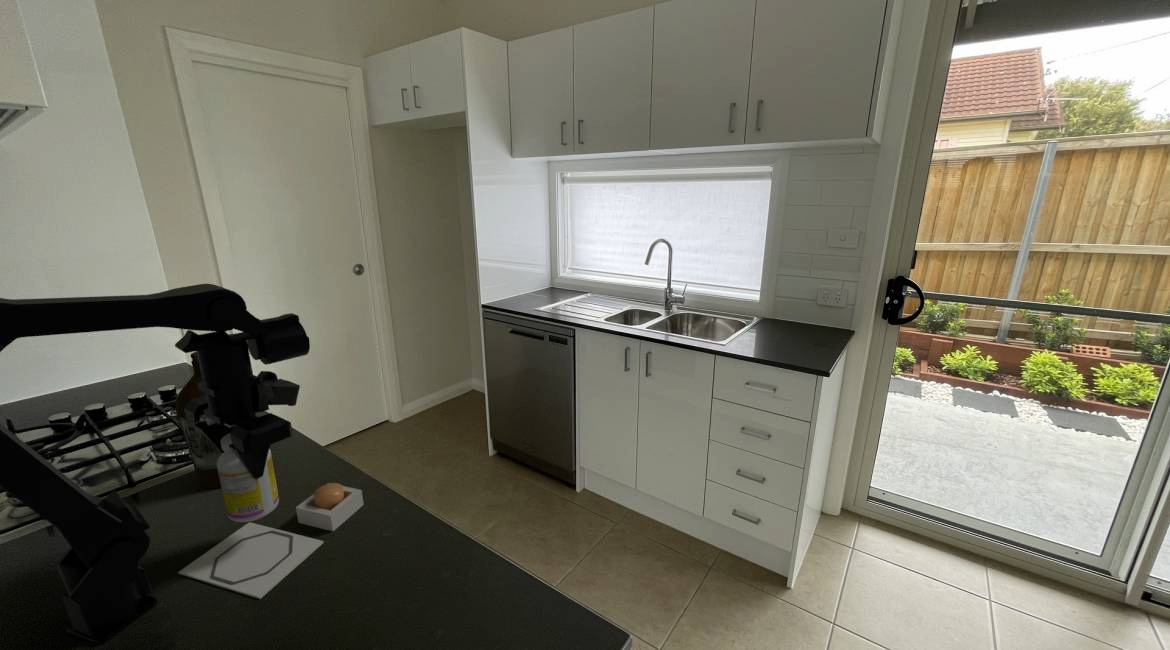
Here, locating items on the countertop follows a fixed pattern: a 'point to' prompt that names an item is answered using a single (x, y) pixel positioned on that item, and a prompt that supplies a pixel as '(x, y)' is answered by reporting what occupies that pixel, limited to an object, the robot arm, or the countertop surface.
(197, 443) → the olive oil
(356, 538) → the countertop surface
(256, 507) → the supplement bottle
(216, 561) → the paper sheet
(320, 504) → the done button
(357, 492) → the button housing
